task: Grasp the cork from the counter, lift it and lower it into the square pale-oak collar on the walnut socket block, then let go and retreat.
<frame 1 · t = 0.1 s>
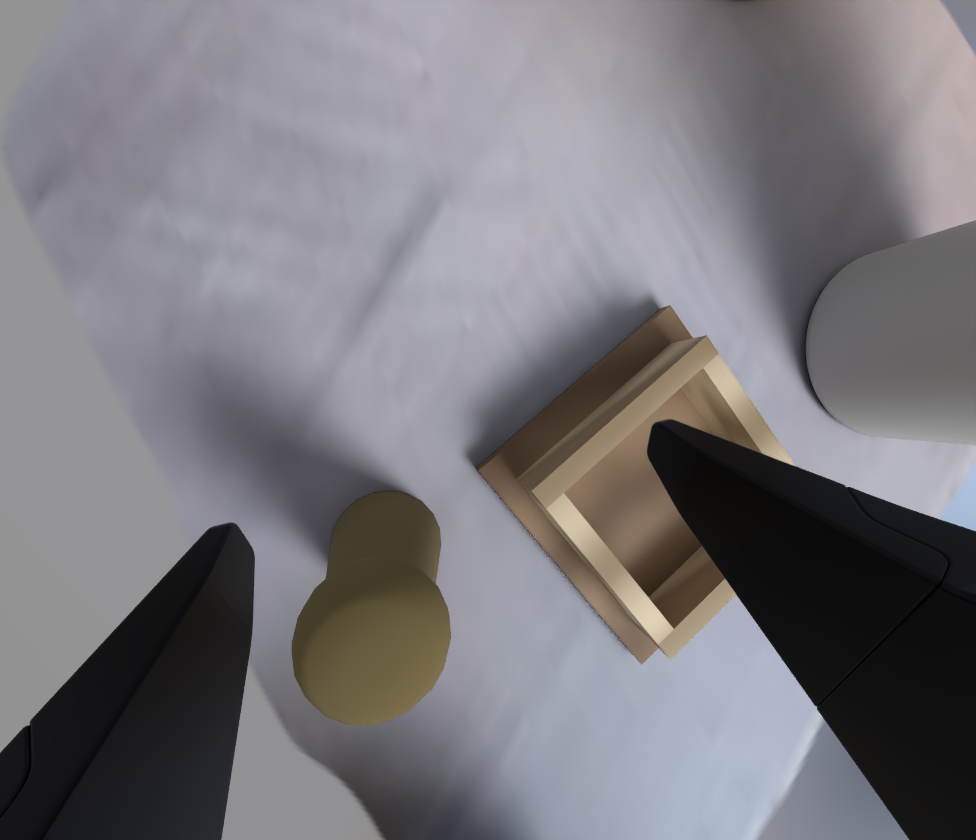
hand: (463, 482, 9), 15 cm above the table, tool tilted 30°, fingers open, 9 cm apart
socket block: (646, 484, 26), on the table
cylinder vase: (870, 347, 29), on the table
cork: (387, 542, 24), on the table
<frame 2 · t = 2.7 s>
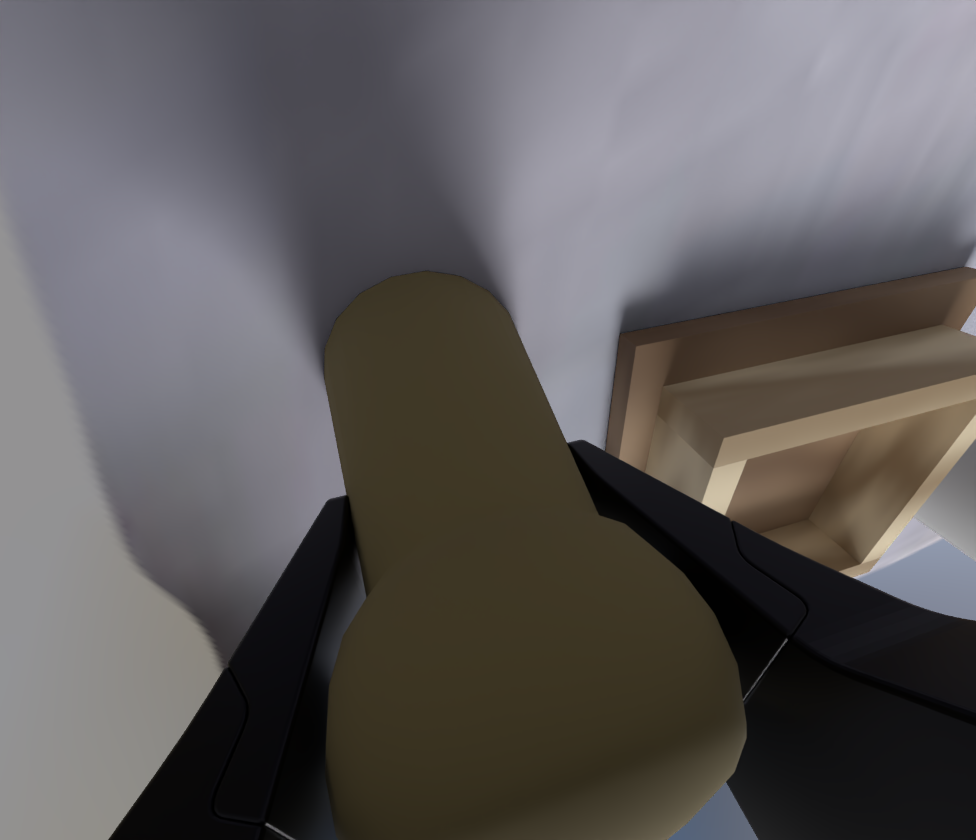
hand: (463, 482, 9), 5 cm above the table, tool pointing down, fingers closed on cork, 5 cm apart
socket block: (743, 460, 20), on the table
cork: (427, 368, 13), on the table, touching gripper
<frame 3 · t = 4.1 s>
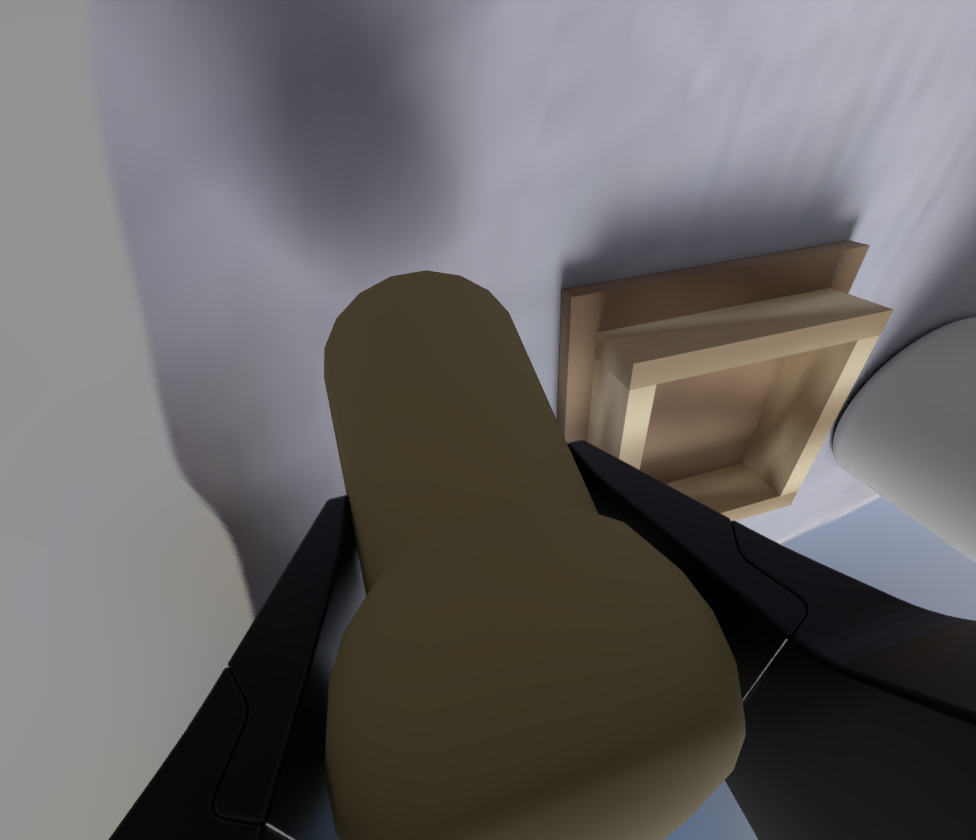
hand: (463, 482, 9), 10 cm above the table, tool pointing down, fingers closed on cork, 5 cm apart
socket block: (679, 407, 24), on the table
cylinder vase: (904, 396, 30), on the table
cork: (427, 367, 13), point 5 cm above the table, touching gripper
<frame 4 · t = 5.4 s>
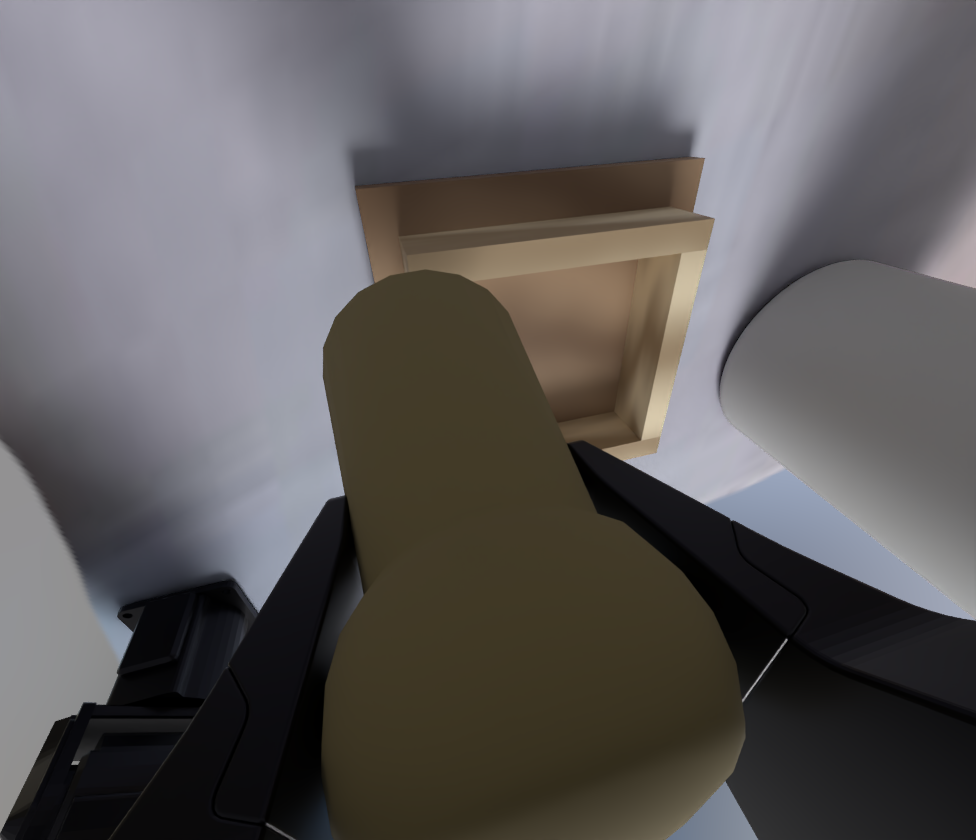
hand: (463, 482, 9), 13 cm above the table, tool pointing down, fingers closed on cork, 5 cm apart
socket block: (532, 342, 23), on the table
cylinder vase: (794, 350, 29), on the table
cork: (426, 367, 13), point 8 cm above the table, touching gripper
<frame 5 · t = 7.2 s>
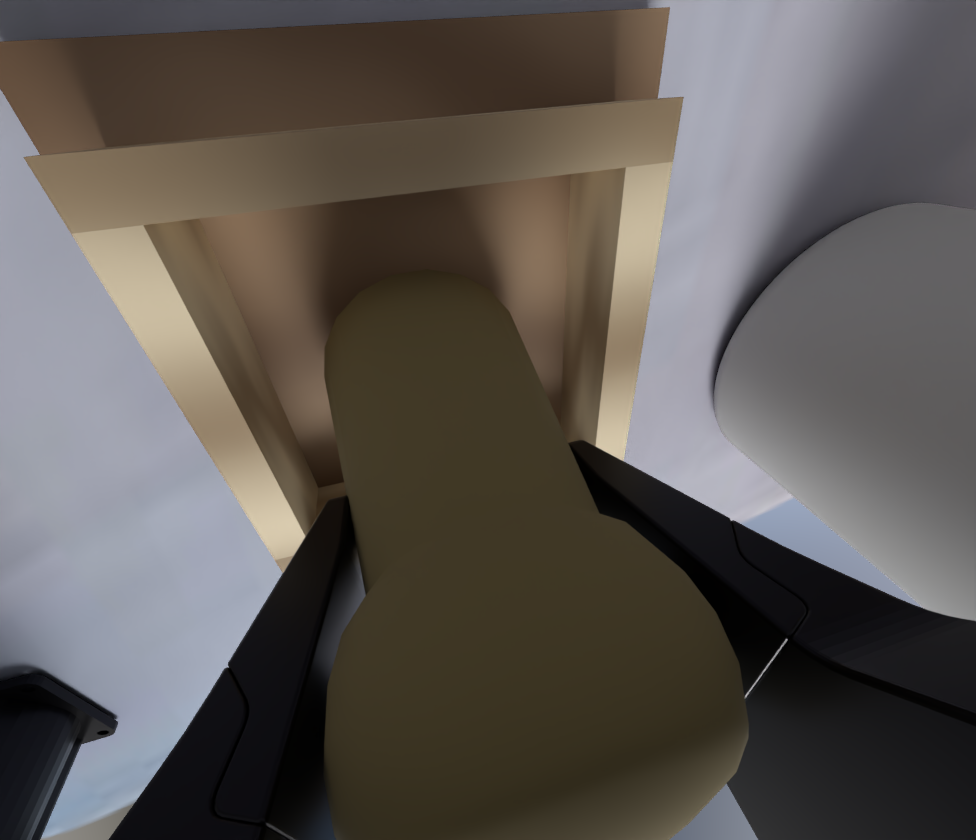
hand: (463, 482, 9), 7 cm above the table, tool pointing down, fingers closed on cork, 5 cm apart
socket block: (421, 336, 15), on the table
cylinder vase: (818, 341, 21), on the table
cork: (427, 366, 13), point 2 cm above the table, touching gripper
when the fingers open (6 cm above the table, at t = 8.6 s): cork stays where it is, resting on socket block.
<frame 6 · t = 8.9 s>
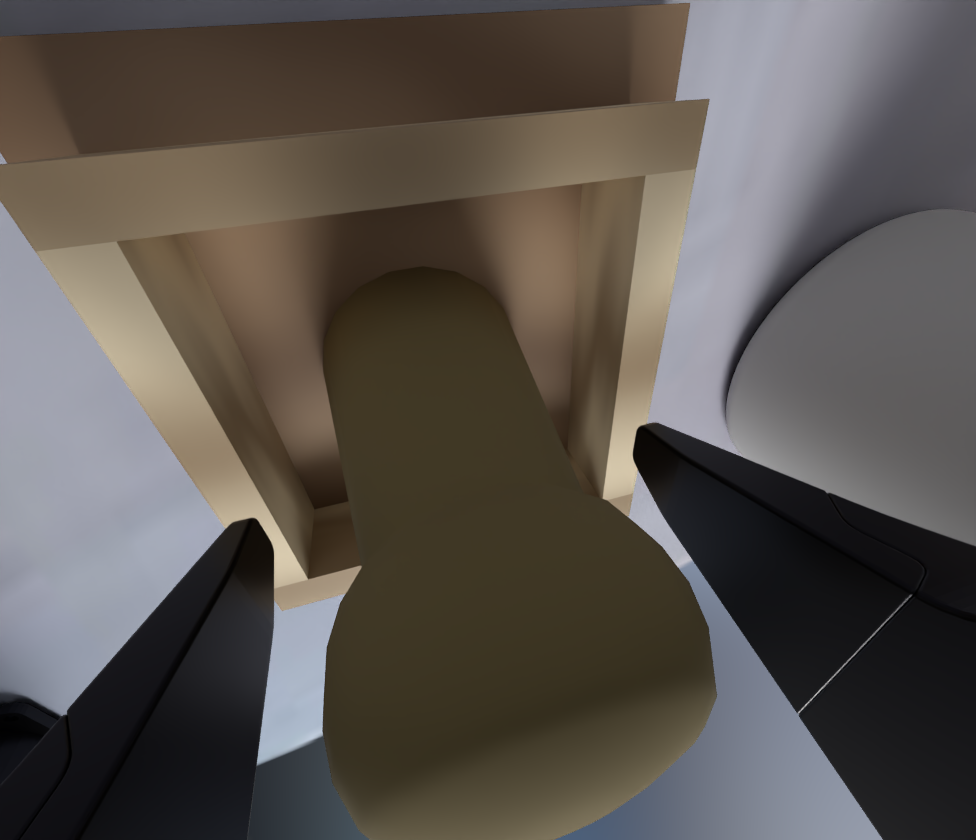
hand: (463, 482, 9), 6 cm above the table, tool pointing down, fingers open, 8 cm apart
socket block: (422, 350, 14), on the table
cylinder vase: (833, 351, 20), on the table
cork: (423, 361, 13), point 1 cm above the table, touching socket block
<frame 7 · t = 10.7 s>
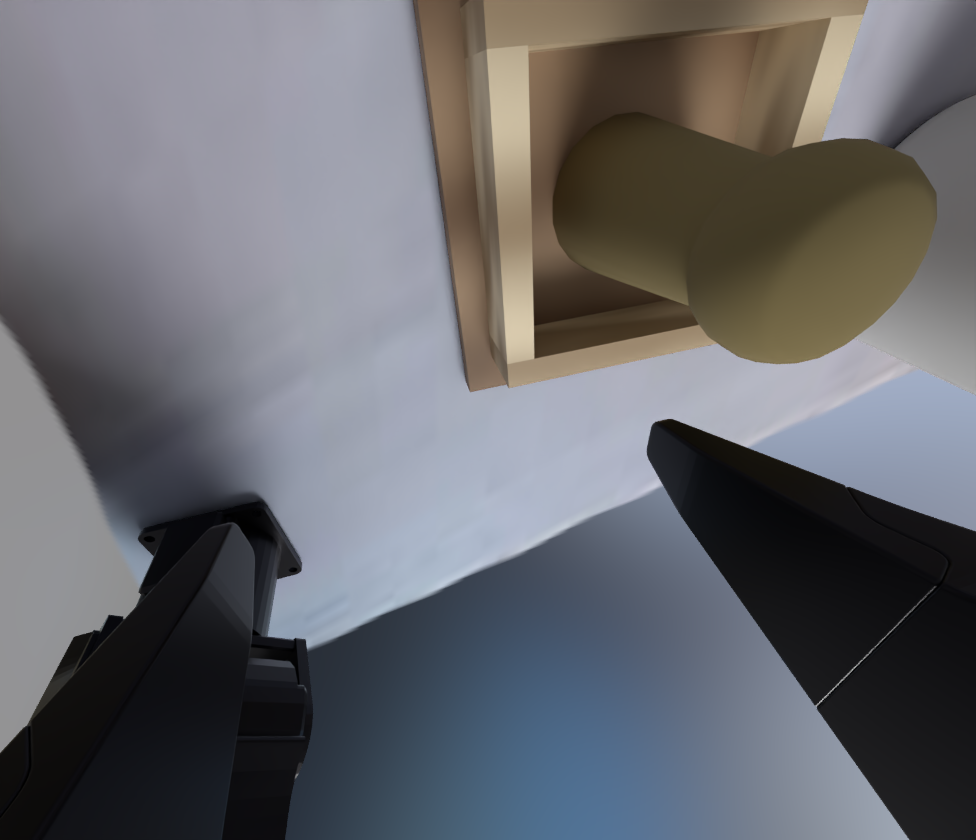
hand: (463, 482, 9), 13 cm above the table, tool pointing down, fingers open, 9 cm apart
socket block: (609, 196, 19), on the table
cylinder vase: (908, 226, 24), on the table
cork: (616, 199, 18), point 1 cm above the table, touching socket block
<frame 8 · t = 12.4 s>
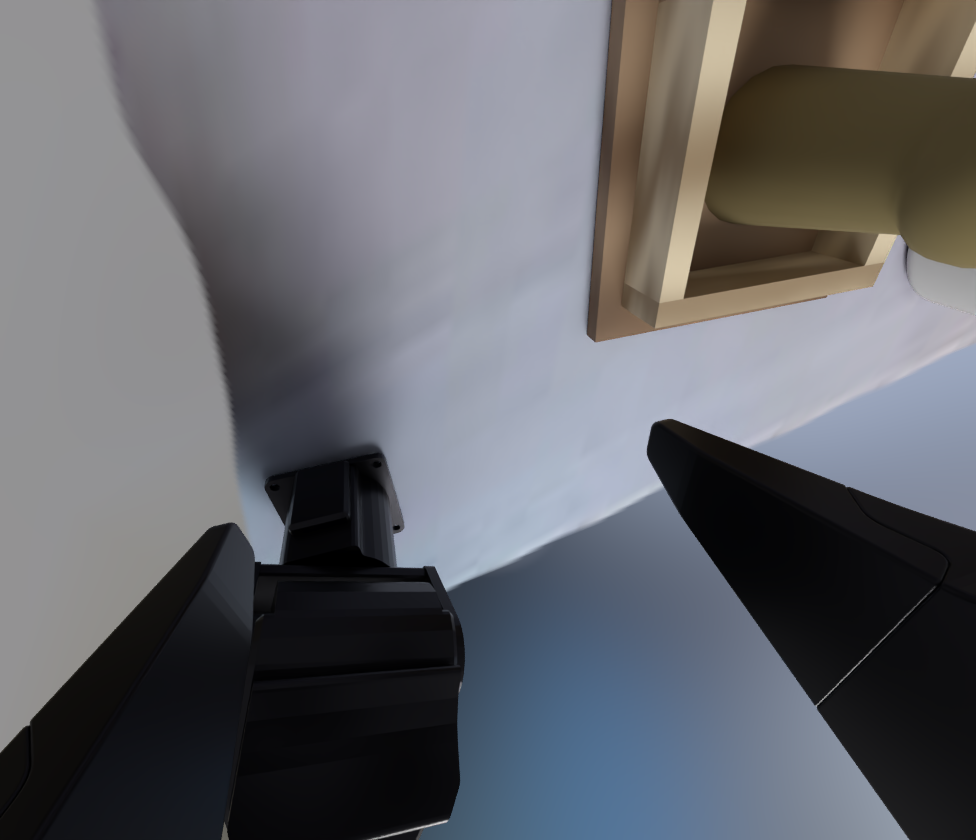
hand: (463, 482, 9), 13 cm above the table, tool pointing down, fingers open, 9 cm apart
socket block: (745, 150, 20), on the table
cork: (757, 151, 19), point 1 cm above the table, touching socket block
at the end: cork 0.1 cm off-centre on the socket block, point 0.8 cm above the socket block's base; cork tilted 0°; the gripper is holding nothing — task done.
